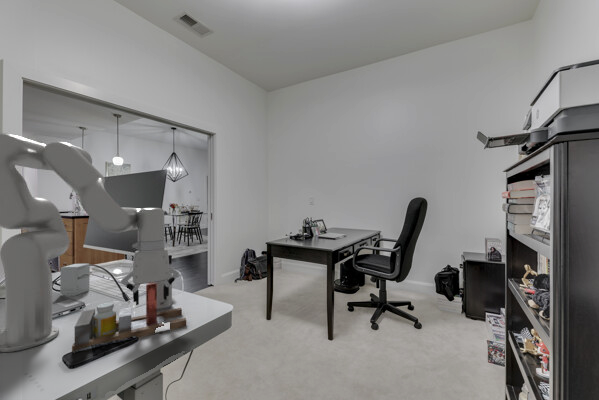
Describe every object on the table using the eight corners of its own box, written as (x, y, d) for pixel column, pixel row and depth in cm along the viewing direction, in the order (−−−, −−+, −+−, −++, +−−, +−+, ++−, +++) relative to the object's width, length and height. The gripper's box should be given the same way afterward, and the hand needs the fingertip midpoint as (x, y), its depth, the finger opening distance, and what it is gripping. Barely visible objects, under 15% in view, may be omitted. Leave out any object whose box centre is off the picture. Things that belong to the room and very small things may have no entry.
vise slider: (118, 338, 75) (118, 292, 76) (120, 328, 82) (120, 286, 82) (164, 327, 82) (164, 285, 82) (162, 318, 88) (162, 280, 88)
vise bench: (72, 353, 68) (72, 327, 68) (80, 334, 78) (80, 311, 78) (186, 326, 83) (186, 304, 83) (181, 313, 93) (180, 293, 93)
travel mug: (165, 312, 94) (164, 257, 95) (149, 310, 96) (149, 256, 96) (176, 305, 101) (176, 254, 101) (161, 304, 102) (161, 253, 102)
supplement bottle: (88, 342, 74) (88, 308, 74) (101, 333, 79) (101, 301, 79) (108, 341, 74) (108, 307, 74) (120, 332, 80) (120, 301, 80)
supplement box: (76, 296, 113) (76, 267, 113) (59, 296, 113) (59, 267, 113) (90, 290, 120) (90, 263, 120) (74, 290, 120) (74, 263, 121)
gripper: (117, 250, 76) (117, 311, 75) (182, 244, 85) (182, 299, 85) (119, 247, 82) (119, 303, 82) (179, 242, 91) (179, 292, 91)
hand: (151, 300), depth 83 cm, fingers open, 7 cm apart
